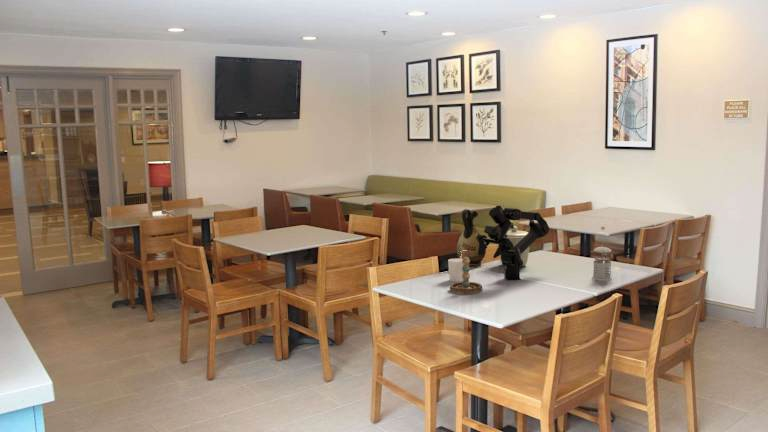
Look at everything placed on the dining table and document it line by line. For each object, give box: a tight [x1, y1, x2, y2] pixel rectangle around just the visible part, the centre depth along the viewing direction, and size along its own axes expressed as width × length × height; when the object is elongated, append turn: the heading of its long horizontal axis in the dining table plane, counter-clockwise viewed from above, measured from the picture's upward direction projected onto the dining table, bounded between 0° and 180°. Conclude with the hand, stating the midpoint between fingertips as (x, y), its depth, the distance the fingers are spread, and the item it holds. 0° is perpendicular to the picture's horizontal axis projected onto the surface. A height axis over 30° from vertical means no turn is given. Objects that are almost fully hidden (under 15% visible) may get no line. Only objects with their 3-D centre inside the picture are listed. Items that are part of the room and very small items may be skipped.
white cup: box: [447, 257, 463, 283], centre depth 320 cm, size 8×8×10 cm
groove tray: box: [449, 281, 483, 295], centre depth 300 cm, size 14×14×2 cm
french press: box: [591, 226, 614, 282], centre depth 317 cm, size 10×12×25 cm
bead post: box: [461, 257, 471, 289], centre depth 299 cm, size 4×4×14 cm
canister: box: [499, 225, 530, 267], centre depth 350 cm, size 18×18×21 cm
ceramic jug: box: [456, 208, 487, 266], centre depth 355 cm, size 17×15×30 cm
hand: (486, 256), depth 307 cm, fingers open, 9 cm apart
